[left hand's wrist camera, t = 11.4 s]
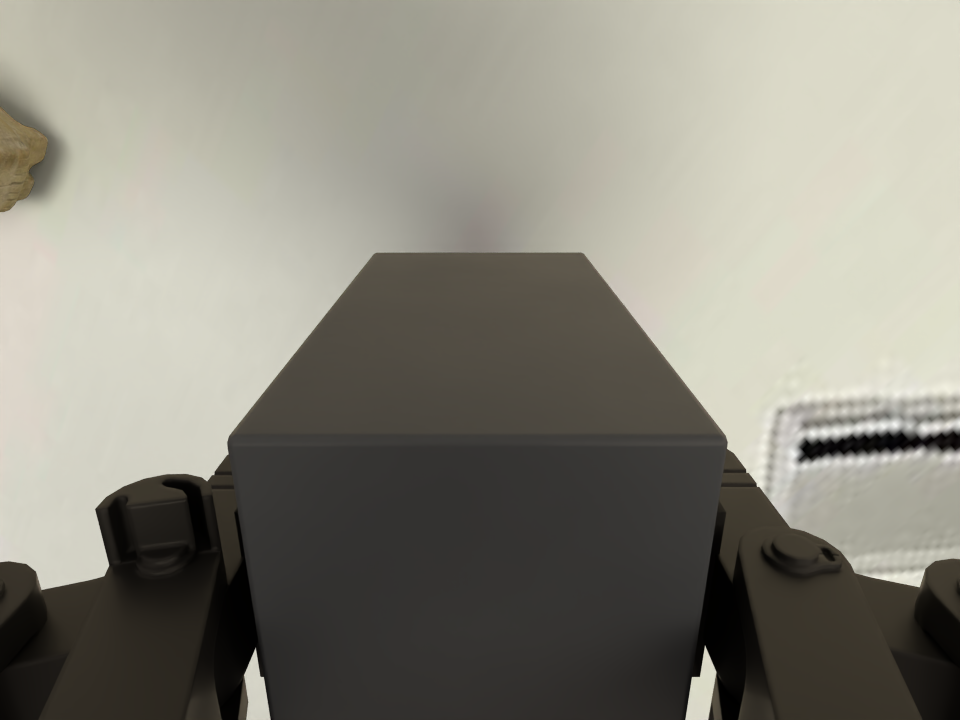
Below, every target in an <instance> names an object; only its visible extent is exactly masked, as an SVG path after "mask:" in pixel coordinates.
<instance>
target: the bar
mask: <svg viewBox="0 0 960 720" xmlns="http://www.w3.org/2000/svg"><path fill="white" fill-rule="evenodd" d="M727 443H728V442H727V439H726V436H725V434H724V433H723V432H722V431H721V429H720V428H719V427H718V425H717V424H716V423H715V422H714V420H713V419H712V418H711V416H710V415H709V414H708V413H707V411H706V410H705V409H704V407H703V406H702V405H701V404H700V402H699V401H698V400H697V398H696V397H695V396H694V395H693V393H692V392H691V391H690V389H689V388H688V387H687V386H686V384H685V383H684V382H683V381H682V379H681V378H680V377H679V375H678V374H677V373H676V372H675V370H674V369H673V368H672V366H671V365H670V364H669V363H668V361H667V360H666V359H665V357H664V356H663V355H662V354H661V352H660V351H659V350H658V348H657V347H656V346H655V345H654V343H653V342H652V341H651V339H650V338H649V337H648V336H647V334H646V333H645V332H644V330H643V329H642V328H641V327H640V325H639V324H638V323H637V322H636V320H635V319H634V318H633V316H632V315H631V314H630V313H629V311H628V310H627V309H626V307H625V306H624V305H623V304H622V302H621V301H620V300H619V298H618V297H617V296H616V295H615V293H614V292H613V291H612V289H611V288H610V287H609V286H608V284H607V283H606V282H605V280H604V279H603V278H602V277H601V275H600V274H599V273H598V271H597V270H596V269H595V268H594V266H593V265H592V264H591V262H590V261H589V260H588V259H587V257H586V256H585V255H584V254H583V253H375V254H374V255H373V256H372V257H371V259H370V260H369V261H368V262H367V264H366V265H365V266H364V267H363V269H362V270H361V271H360V272H359V274H358V275H357V276H356V277H355V279H354V280H353V281H352V282H351V284H350V285H349V286H348V287H347V289H346V290H345V291H344V292H343V294H342V295H341V296H340V297H339V299H338V300H337V301H336V303H335V304H334V305H333V306H332V308H331V309H330V310H329V311H328V313H327V314H326V315H325V316H324V318H323V319H322V320H321V321H320V323H319V324H318V325H317V326H316V328H315V329H314V330H313V331H312V333H311V334H310V335H309V336H308V338H307V339H306V340H305V341H304V343H303V344H302V345H301V346H300V348H299V349H298V350H297V352H296V353H295V354H294V355H293V357H292V358H291V359H290V360H289V362H288V363H287V364H286V365H285V367H284V368H283V369H282V370H281V372H280V373H279V374H278V375H277V377H276V378H275V379H274V380H273V382H272V383H271V384H270V385H269V387H268V388H267V389H266V390H265V392H264V393H263V394H262V396H261V397H260V398H259V399H258V401H257V402H256V403H255V404H254V406H253V407H252V408H251V409H250V411H249V412H248V413H247V414H246V416H245V417H244V418H243V419H242V421H241V422H240V423H239V424H238V426H237V427H236V428H235V429H234V431H233V432H232V433H231V434H230V436H229V439H228V442H227V444H228V451H229V458H230V464H231V470H232V477H233V483H234V489H235V496H236V502H237V509H238V515H239V521H240V528H241V534H242V540H243V547H244V553H245V559H246V566H247V572H248V578H249V585H250V591H251V597H252V604H253V610H254V616H255V623H256V629H257V636H258V642H259V648H260V655H261V661H262V667H263V674H264V680H265V686H266V693H267V699H268V705H269V712H270V718H271V720H685V718H686V711H687V705H688V698H689V692H690V685H691V679H692V672H693V666H694V659H695V653H696V646H697V640H698V633H699V627H700V620H701V614H702V607H703V601H704V594H705V588H706V581H707V574H708V568H709V561H710V555H711V548H712V542H713V535H714V529H715V522H716V516H717V509H718V503H719V496H720V490H721V483H722V477H723V470H724V464H725V457H726V451H727Z"/></svg>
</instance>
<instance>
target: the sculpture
mask: <svg viewBox="0 0 960 720" xmlns="http://www.w3.org/2000/svg"><path fill="white" fill-rule="evenodd" d="M47 143H48V141H47V138H46V137H45V136H44V135H43V134H42V133H40V132H39V131H37V130H36V129H34V128H31V127H26V126H24V125H22V124H20V123H19V122H17V121H15V120H14V119H13V118H12V117H11V116H10V115H8V114H7V113H6V112H5V111H4V110H3V109H2V108H1V107H0V212H5V211H8V210H10V209H11V208H12V207H13V206H14V205H15V203H16V201H18V200H22V199H24V198H26V197H27V196H28V195H29V193H30V191H31V189H32V187H33V185H34V179H33V177H32V175H31V174H30V173H29V169H30V168H31V167H32V166H33V165H35V164H37V163H39V162H41V161H42V160H43V159H44V156H45V153H46V148H47Z"/></svg>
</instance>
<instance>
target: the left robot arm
mask: <svg viewBox="0 0 960 720" xmlns="http://www.w3.org/2000/svg"><path fill="white" fill-rule="evenodd" d="M95 510H96V514H97V518H98V522H99V526H100V530H101V534H102V538H103V542H104V546H105V550H106V554H107V558H108V562H109V568H108V570H107V572H106V574H105V576H104V577H100V578H97V579H93V580H89V581H84V582H79V583H74V584H69V585H65V586H60V587H55V588H50V589H45V590H41V587H40V584H39V581H38V577H37V574H36V571H34V570H33V569H32V568H31V567H29V566H28V565H27V564H22V563H16V562H9V561H8V562H0V720H246V716H247V707H248V697H247V690H246V684H245V678H244V674H245V671H246V669H247V667H248V664H249V662H250V660H251V657H252V655H253V653H254V650H255V648H256V651H257V657H258V664H259V670H260V676H261V677H264V674H263V667H262V661H261V655H260V648H259V642H258V636H257V629H256V623H255V616H254V610H253V604H252V597H251V591H250V585H249V578H248V572H247V566H246V559H245V553H244V547H243V540H242V534H241V528H240V521H239V515H238V509H237V502H236V496H235V489H234V483H233V477H232V470H231V464H230V458H229V455H227V456H226V458H225V459H224V460H223V462H222V463H221V464H220V466H219V467H218V468H217V470H216V471H215V475H212V476H211V478H210V479H209V480H208V482H207V481H206V480H204V479H203V478H201V477H197V476H193V475H188V474H166V475H161V476H156V477H151V478H146V479H143V480H140V481H137V482H135V483H132V484H129V485H127V486H124V487H122V488H121V489H119V490H117V491H116V492H114V493H112V494H111V495H109V496H107V497H106V498H105V499H104V500H103V501H102V502H101V503H100V505H99V506H98V507H97V508H96V509H95ZM705 646H706V648H707V651H708V653H709V655H710V658H711V660H712V662H713V665H714V667H715V669H716V672H717V673H716V678H715V684H714V690H713V696H712V701H711V707H710V713H709V719H708V720H960V559H947V560H940V561H935V562H934V563H932V564H931V565H930V566H929V567H927V568H926V569H925V572H924V576H923V579H922V582H921V586H920V587H915V586H910V585H905V584H900V583H895V582H890V581H885V580H880V579H875V578H871V577H867V576H863V575H859V574H856V573H854V571H853V569H852V566H851V564H850V563H849V562H848V561H847V559H846V558H845V557H844V555H843V554H842V553H841V552H840V551H839V550H838V549H836V548H835V547H833V546H832V545H831V544H829V543H828V542H826V541H825V540H823V539H821V538H818V537H816V536H814V535H812V534H809V533H807V532H805V531H801V530H796V529H792V528H790V527H789V526H788V524H787V523H786V522H785V520H784V519H783V518H782V516H781V515H780V514H779V513H778V511H777V510H776V509H775V507H774V506H773V505H772V503H771V502H770V501H769V499H768V498H767V497H766V495H765V494H764V493H763V491H762V490H761V489H760V487H757V483H756V482H755V481H754V479H753V478H752V477H751V476H750V474H749V473H746V469H745V468H744V466H743V465H742V464H741V462H740V461H739V460H738V458H737V457H736V456H735V454H734V453H732V452H731V451H729V450H728V449H727V451H726V457H725V464H724V470H723V477H722V483H721V490H720V496H719V503H718V509H717V516H716V522H715V529H714V535H713V542H712V548H711V555H710V561H709V568H708V574H707V581H706V588H705V594H704V601H703V607H702V614H701V620H700V627H699V633H698V640H697V646H696V653H695V659H694V666H693V672H692V677H700V673H701V666H702V660H703V654H704V648H705Z"/></svg>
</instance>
